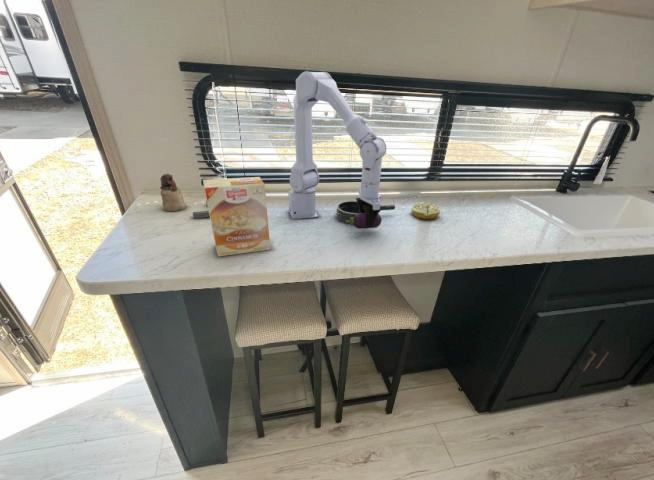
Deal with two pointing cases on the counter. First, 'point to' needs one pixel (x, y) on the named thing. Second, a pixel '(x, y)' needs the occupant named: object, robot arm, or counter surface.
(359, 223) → the eggplant
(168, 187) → the figurine
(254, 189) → the coffeecake box
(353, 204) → the pan
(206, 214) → the door handle
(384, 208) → the pan handle
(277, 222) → the counter surface
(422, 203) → the decorated donut
